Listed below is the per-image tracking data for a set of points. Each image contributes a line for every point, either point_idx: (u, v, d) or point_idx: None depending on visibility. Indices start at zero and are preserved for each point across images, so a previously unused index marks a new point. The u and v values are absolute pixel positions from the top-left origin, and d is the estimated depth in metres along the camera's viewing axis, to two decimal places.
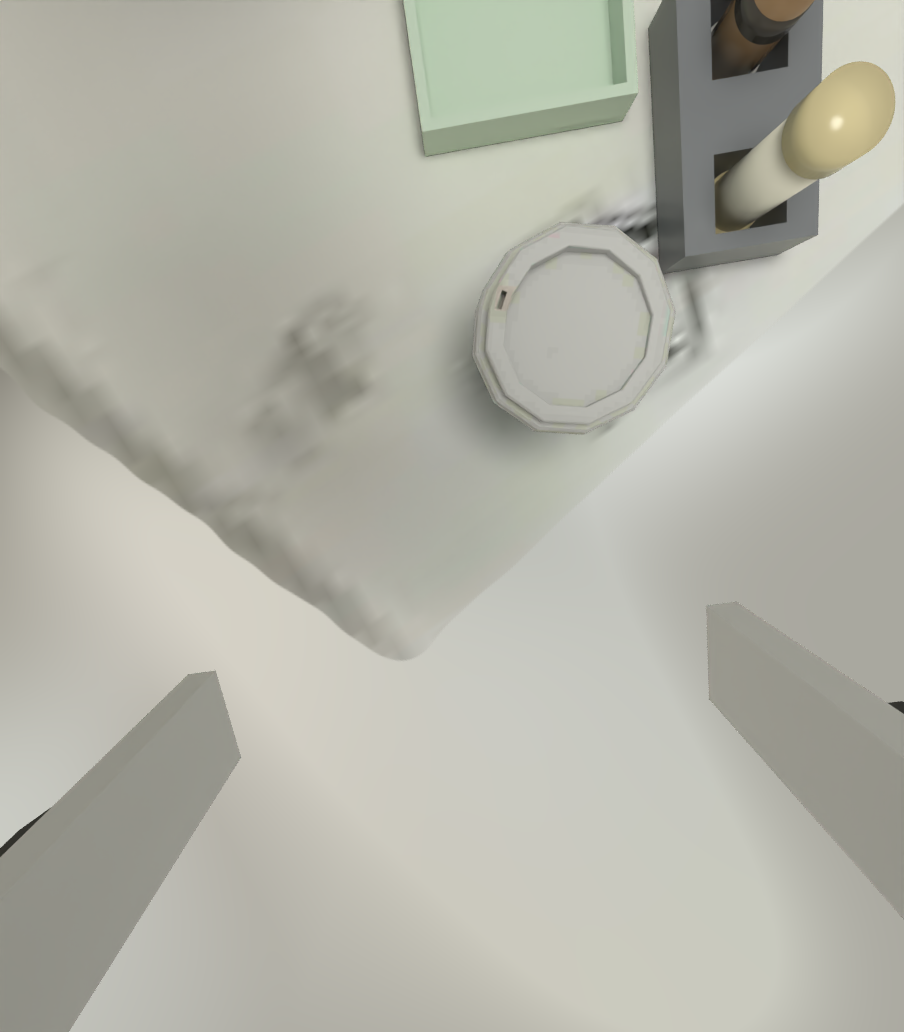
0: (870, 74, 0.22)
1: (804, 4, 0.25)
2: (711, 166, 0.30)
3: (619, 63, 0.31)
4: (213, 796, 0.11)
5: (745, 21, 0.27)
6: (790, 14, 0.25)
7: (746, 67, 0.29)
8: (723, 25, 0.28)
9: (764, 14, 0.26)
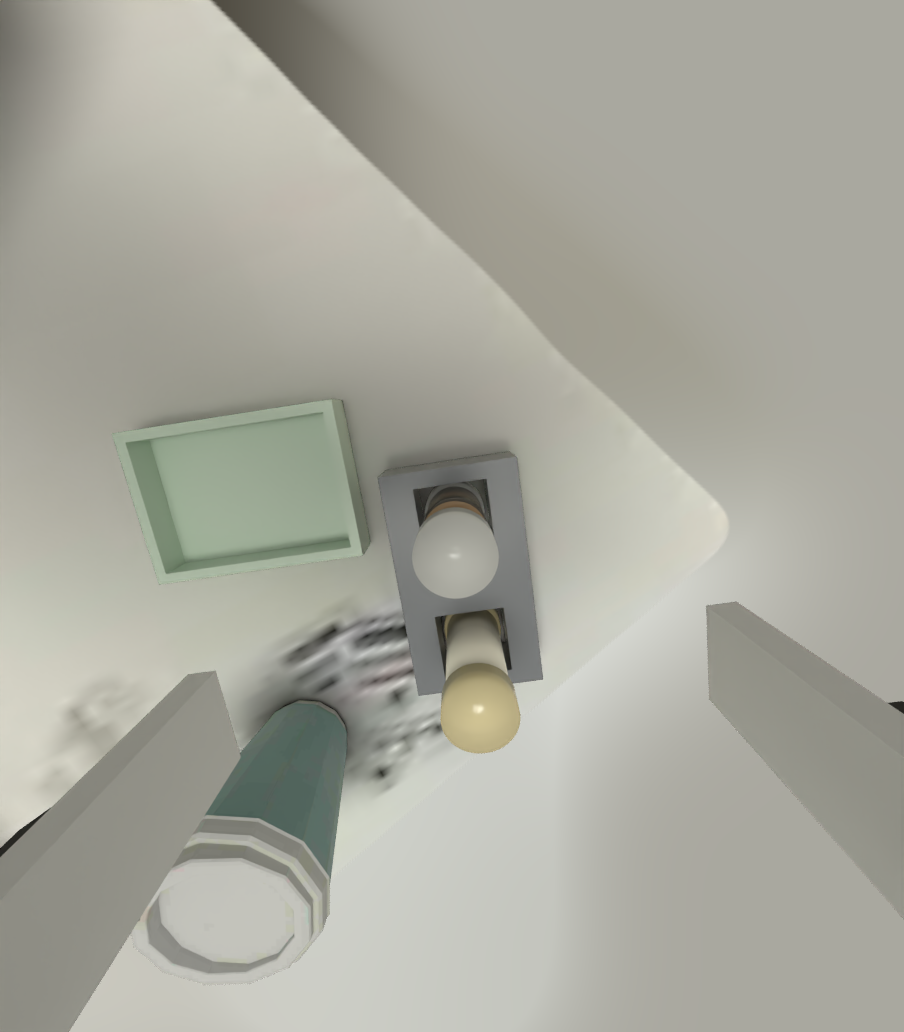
0: (492, 693, 0.24)
1: None
2: (433, 625, 0.31)
3: None
4: (212, 796, 0.11)
5: None
6: None
7: None
8: None
9: None
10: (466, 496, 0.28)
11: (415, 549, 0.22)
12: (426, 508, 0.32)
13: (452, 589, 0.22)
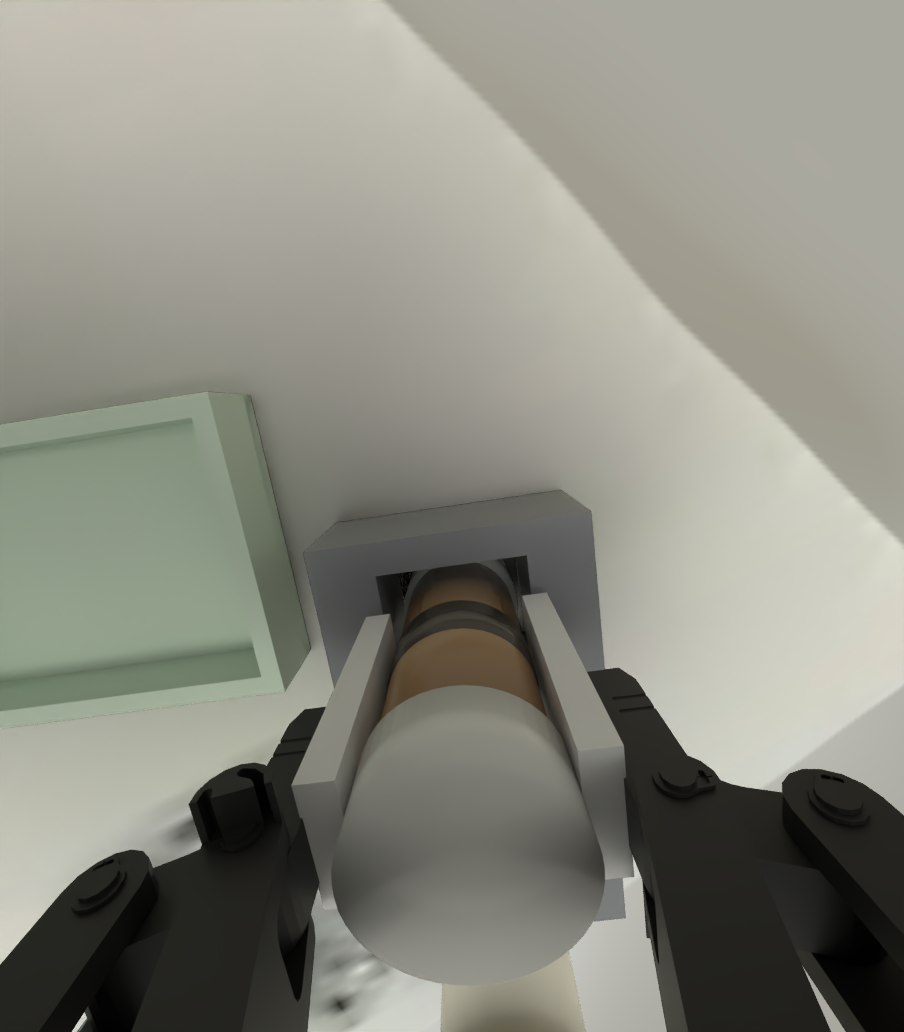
0: None
1: None
2: None
3: None
4: None
5: None
6: None
7: None
8: None
9: None
10: (486, 598, 0.13)
11: (341, 858, 0.07)
12: (407, 600, 0.17)
13: (458, 963, 0.07)
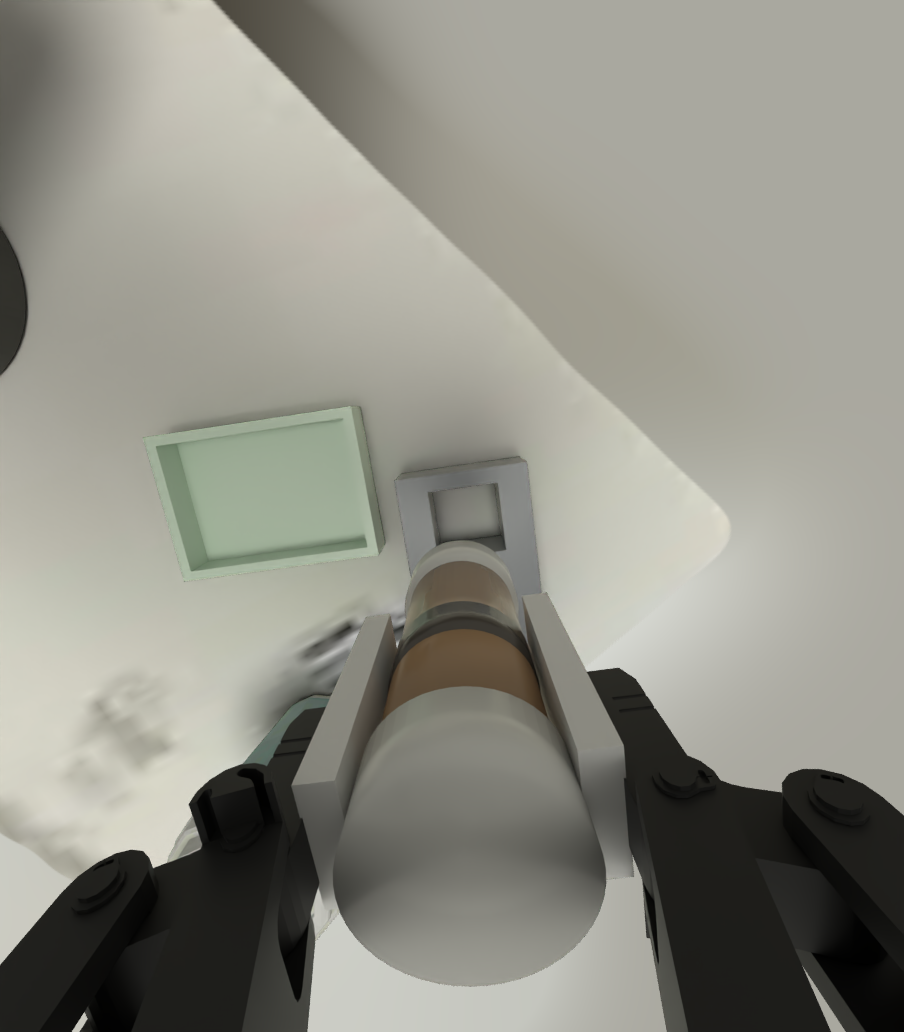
0: None
1: None
2: None
3: None
4: None
5: None
6: None
7: None
8: None
9: None
10: (487, 598, 0.13)
11: (342, 859, 0.07)
12: (407, 601, 0.17)
13: (459, 964, 0.07)
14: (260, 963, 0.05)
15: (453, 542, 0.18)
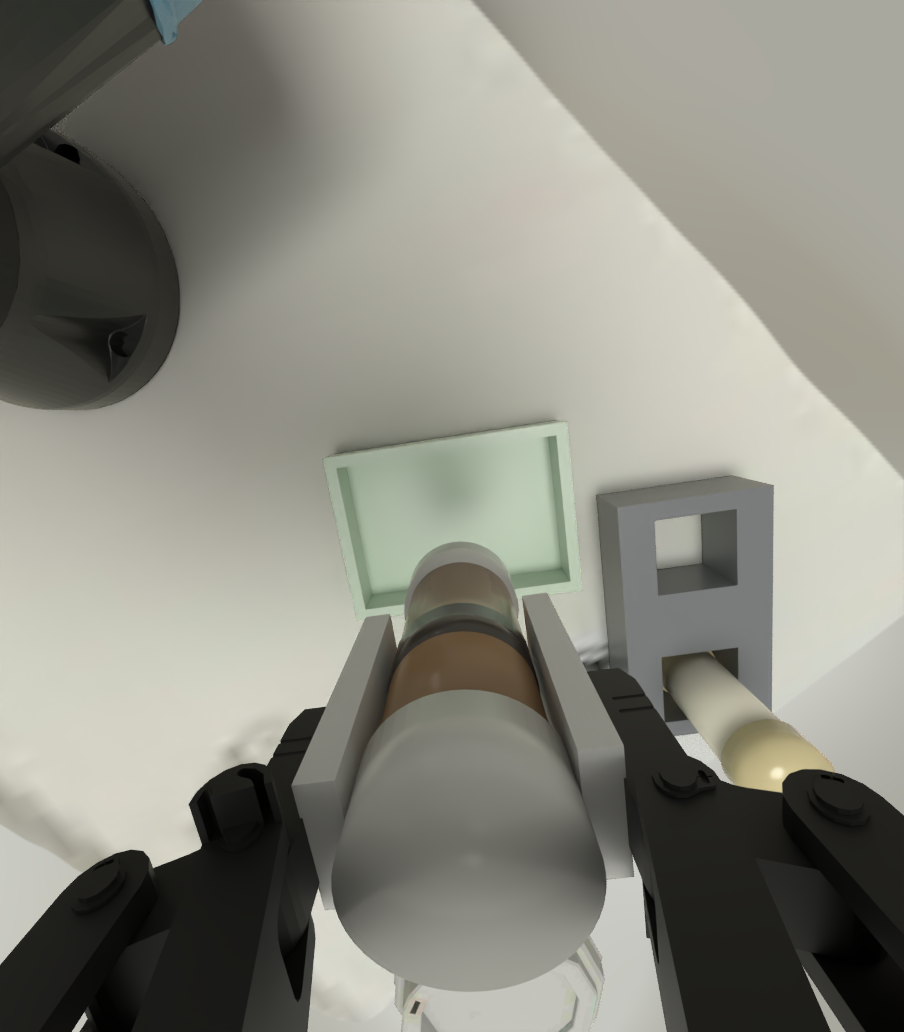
0: (808, 757, 0.21)
1: None
2: (659, 666, 0.29)
3: (564, 550, 0.29)
4: None
5: None
6: None
7: None
8: None
9: None
10: (487, 600, 0.13)
11: (341, 864, 0.07)
12: (407, 602, 0.17)
13: (458, 969, 0.07)
14: (260, 963, 0.05)
15: (453, 543, 0.18)
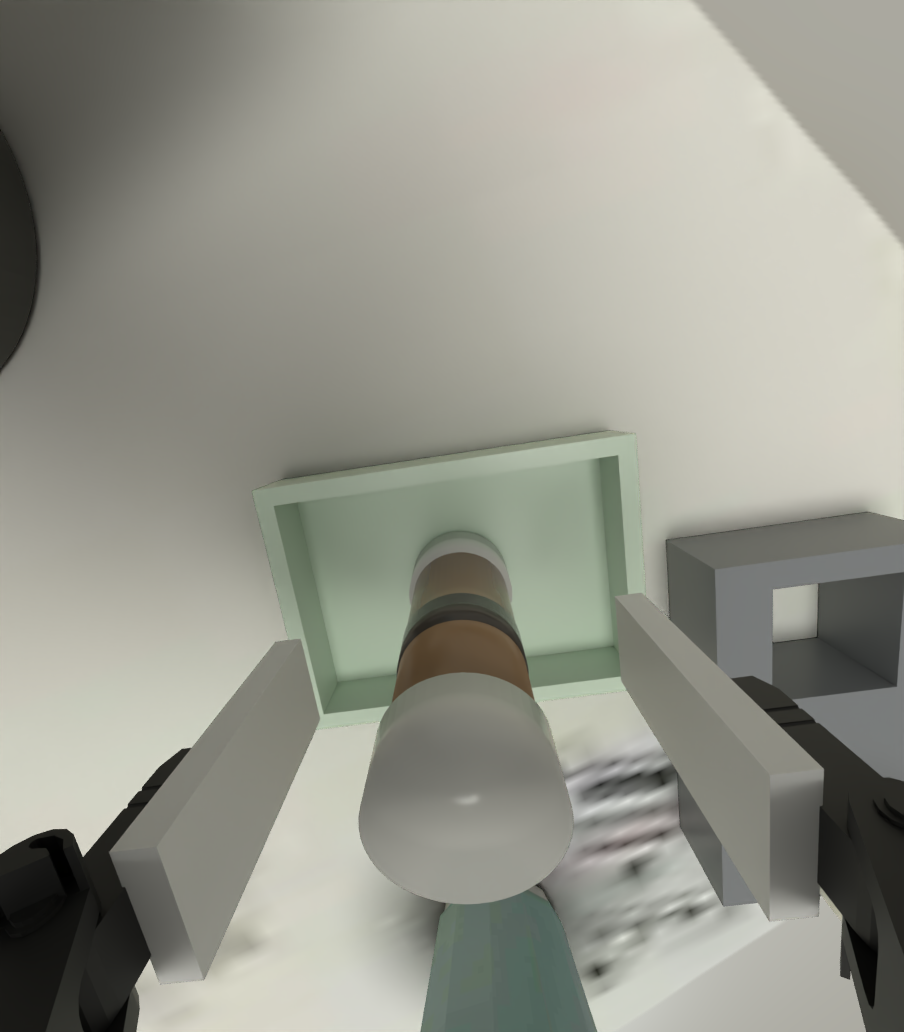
0: None
1: None
2: None
3: None
4: (303, 751, 0.12)
5: None
6: None
7: None
8: None
9: None
10: (483, 590, 0.15)
11: (366, 809, 0.09)
12: (411, 588, 0.18)
13: (458, 887, 0.09)
14: None
15: (453, 533, 0.20)
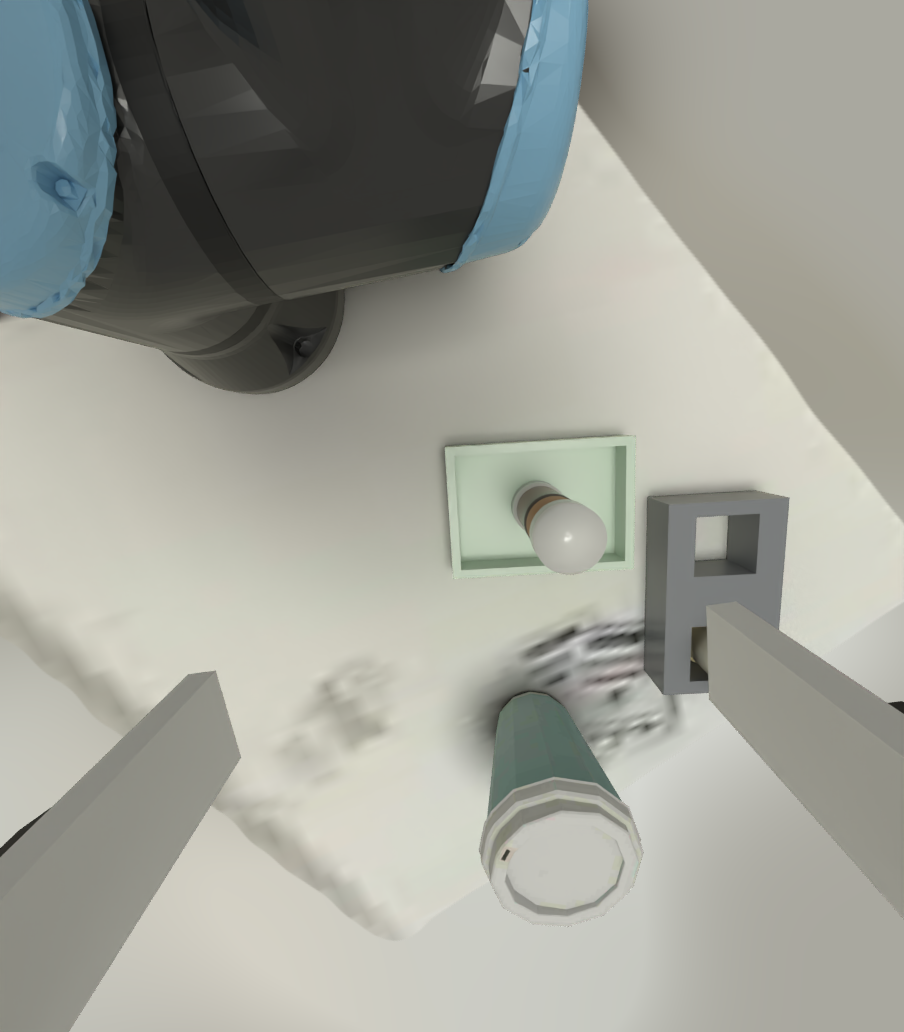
0: None
1: None
2: (689, 634, 0.37)
3: (620, 536, 0.37)
4: (213, 796, 0.11)
5: None
6: None
7: None
8: (520, 514, 0.34)
9: None
10: None
11: (538, 530, 0.26)
12: (516, 503, 0.36)
13: (564, 566, 0.27)
14: None
15: (536, 480, 0.37)
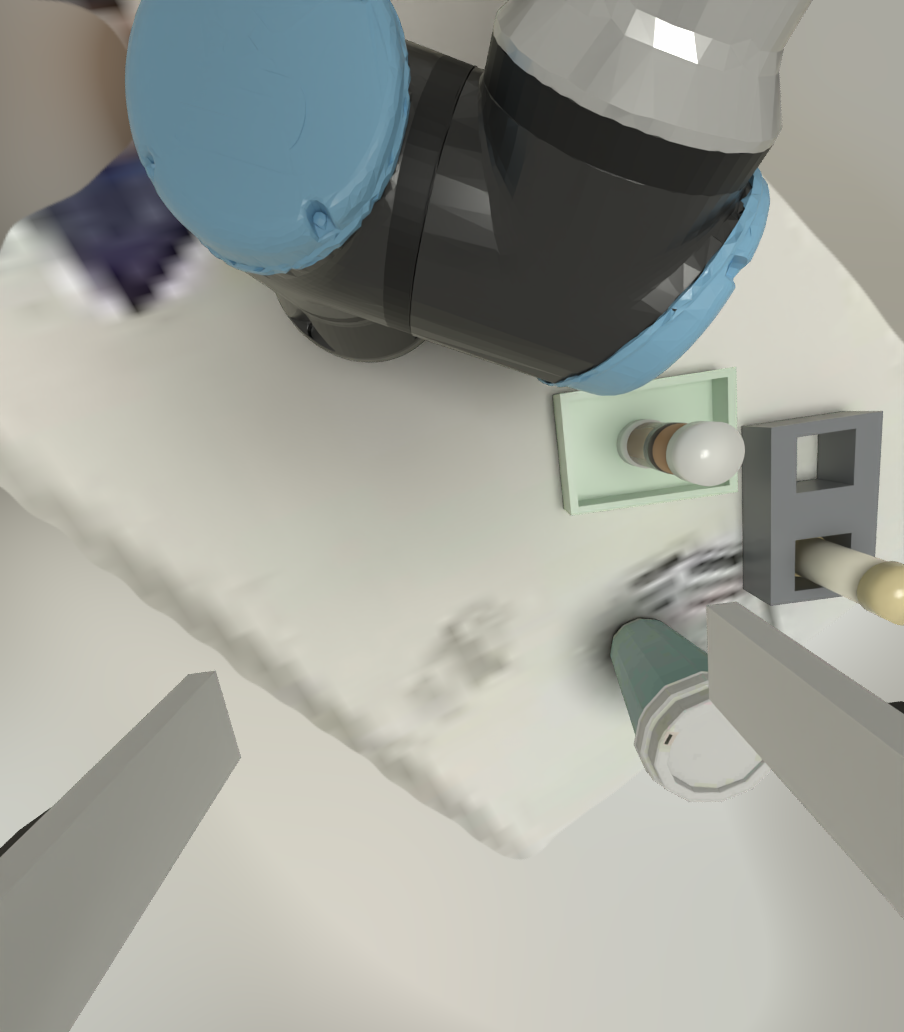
0: None
1: None
2: (793, 547, 0.40)
3: None
4: (213, 796, 0.11)
5: (651, 463, 0.35)
6: None
7: None
8: (637, 447, 0.37)
9: (662, 470, 0.35)
10: None
11: (683, 447, 0.30)
12: (626, 440, 0.39)
13: (707, 479, 0.30)
14: None
15: None
